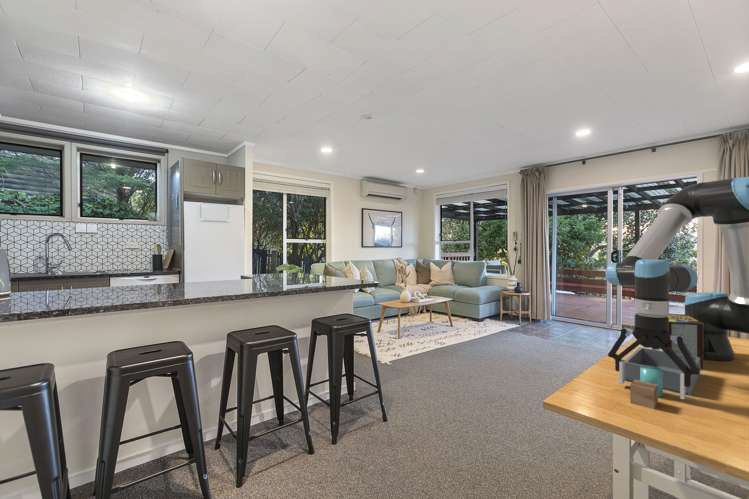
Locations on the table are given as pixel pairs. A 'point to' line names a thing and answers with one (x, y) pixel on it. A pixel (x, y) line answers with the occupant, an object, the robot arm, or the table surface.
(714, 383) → the table surface
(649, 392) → the walnut cube
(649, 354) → the tote
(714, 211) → the robot arm
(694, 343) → the protein box
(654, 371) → the teal cylinder
